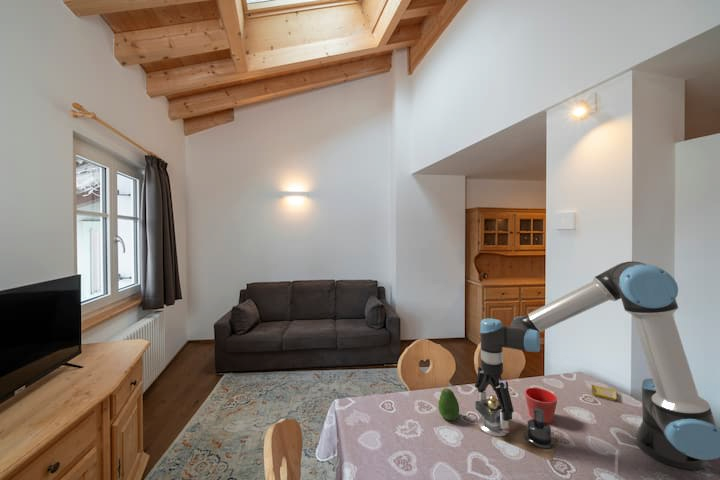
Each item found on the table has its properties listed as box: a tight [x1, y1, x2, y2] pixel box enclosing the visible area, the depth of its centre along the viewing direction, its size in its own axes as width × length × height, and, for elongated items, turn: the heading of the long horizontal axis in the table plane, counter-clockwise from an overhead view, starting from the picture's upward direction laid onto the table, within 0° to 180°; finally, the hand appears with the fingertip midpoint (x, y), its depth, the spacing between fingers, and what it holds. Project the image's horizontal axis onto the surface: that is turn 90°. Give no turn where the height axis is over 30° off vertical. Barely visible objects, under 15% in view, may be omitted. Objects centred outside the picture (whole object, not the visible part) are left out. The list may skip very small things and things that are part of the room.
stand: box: [525, 408, 555, 449], centre depth 102 cm, size 9×9×10 cm
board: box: [473, 416, 559, 462], centre depth 106 cm, size 25×14×1 cm, turn 48°
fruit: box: [438, 388, 460, 421], centre depth 116 cm, size 8×8×12 cm
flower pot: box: [524, 387, 558, 424], centre depth 115 cm, size 11×11×10 cm
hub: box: [477, 394, 510, 438], centre depth 109 cm, size 11×11×12 cm
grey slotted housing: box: [474, 398, 513, 423], centre depth 109 cm, size 9×9×3 cm
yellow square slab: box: [590, 384, 618, 402], centre depth 129 cm, size 9×9×2 cm
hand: (493, 417), depth 109 cm, fingers open, 11 cm apart
